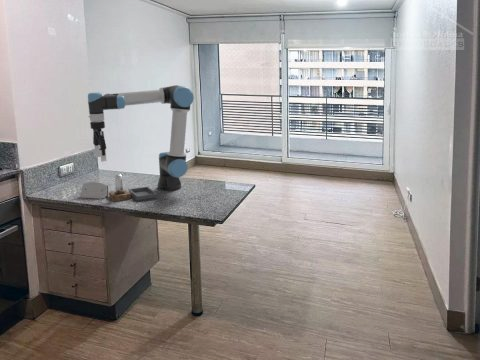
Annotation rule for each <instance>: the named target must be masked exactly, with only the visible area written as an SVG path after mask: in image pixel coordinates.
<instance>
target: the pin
mask: <svg viewBox="0 0 480 360" xmlns="http://www.w3.org/2000/svg"><path fill="white" fill-rule="evenodd" d="M114 182H115V183H114V185H115V191H116V195H119V194H123V190H124V188H123V187H124V185H123V184H124V183H123V175H122V174H121V173H118V174H115V175H114Z"/></svg>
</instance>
